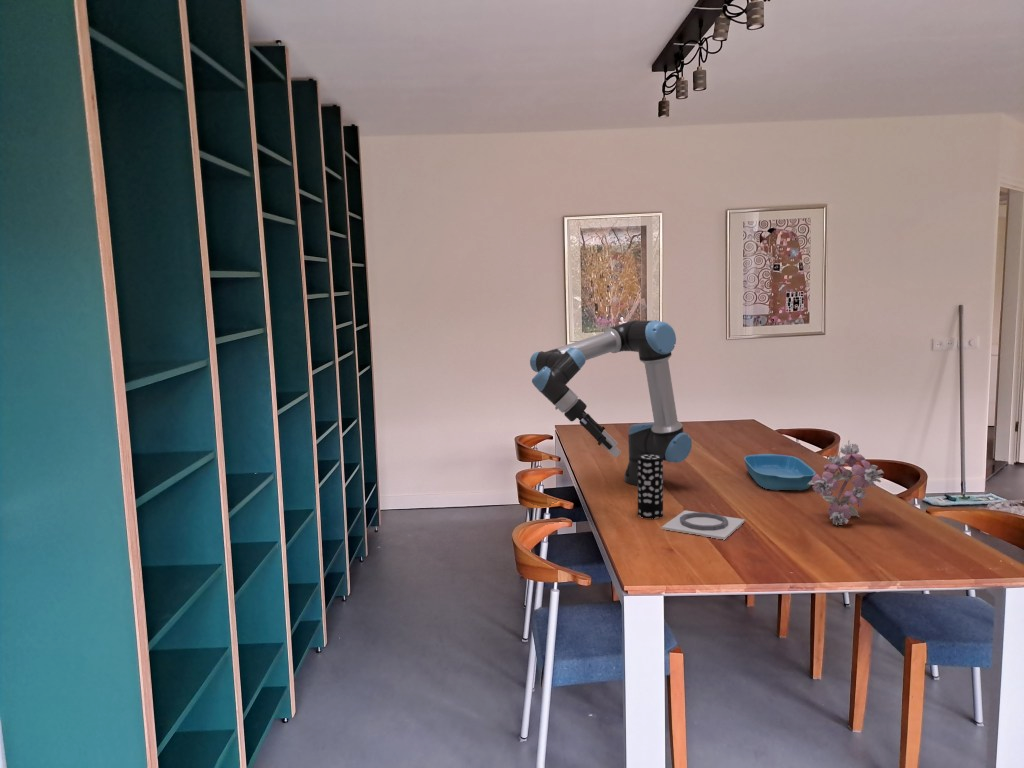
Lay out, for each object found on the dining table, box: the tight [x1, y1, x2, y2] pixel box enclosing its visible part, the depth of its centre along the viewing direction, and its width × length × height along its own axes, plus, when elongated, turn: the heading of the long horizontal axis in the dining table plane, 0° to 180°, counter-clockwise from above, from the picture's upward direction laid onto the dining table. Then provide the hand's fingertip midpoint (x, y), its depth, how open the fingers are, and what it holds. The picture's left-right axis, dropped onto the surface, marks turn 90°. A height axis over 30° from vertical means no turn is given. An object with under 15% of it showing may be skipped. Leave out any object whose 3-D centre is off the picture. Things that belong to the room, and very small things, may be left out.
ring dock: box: [661, 509, 746, 541], centre depth 230 cm, size 20×20×2 cm
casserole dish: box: [743, 453, 817, 491], centre depth 281 cm, size 37×22×7 cm, turn 174°
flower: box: [807, 440, 885, 526], centre depth 233 cm, size 20×22×25 cm
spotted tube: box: [637, 454, 664, 520], centre depth 241 cm, size 8×8×20 cm
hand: (616, 450), depth 240 cm, fingers open, 13 cm apart
